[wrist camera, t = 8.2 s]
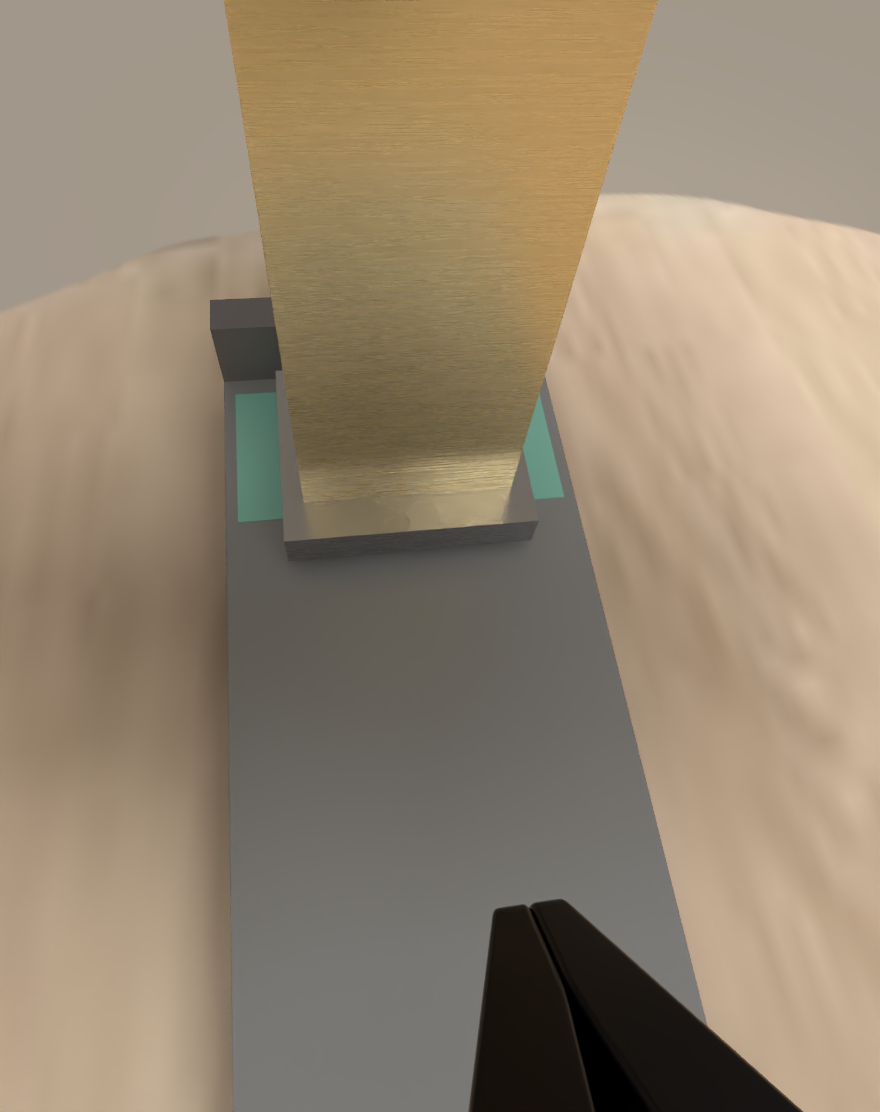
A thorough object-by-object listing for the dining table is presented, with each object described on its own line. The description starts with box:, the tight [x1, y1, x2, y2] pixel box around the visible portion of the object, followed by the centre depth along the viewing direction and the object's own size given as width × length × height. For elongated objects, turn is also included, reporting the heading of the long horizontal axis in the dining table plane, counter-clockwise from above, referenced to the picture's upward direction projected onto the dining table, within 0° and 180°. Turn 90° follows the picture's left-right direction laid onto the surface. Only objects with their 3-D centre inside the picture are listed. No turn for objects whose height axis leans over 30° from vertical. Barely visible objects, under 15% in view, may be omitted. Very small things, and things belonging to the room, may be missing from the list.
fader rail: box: [210, 298, 707, 1112], centre depth 17 cm, size 20×9×4 cm, turn 8°
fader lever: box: [224, 0, 658, 561], centre depth 14 cm, size 5×6×12 cm
